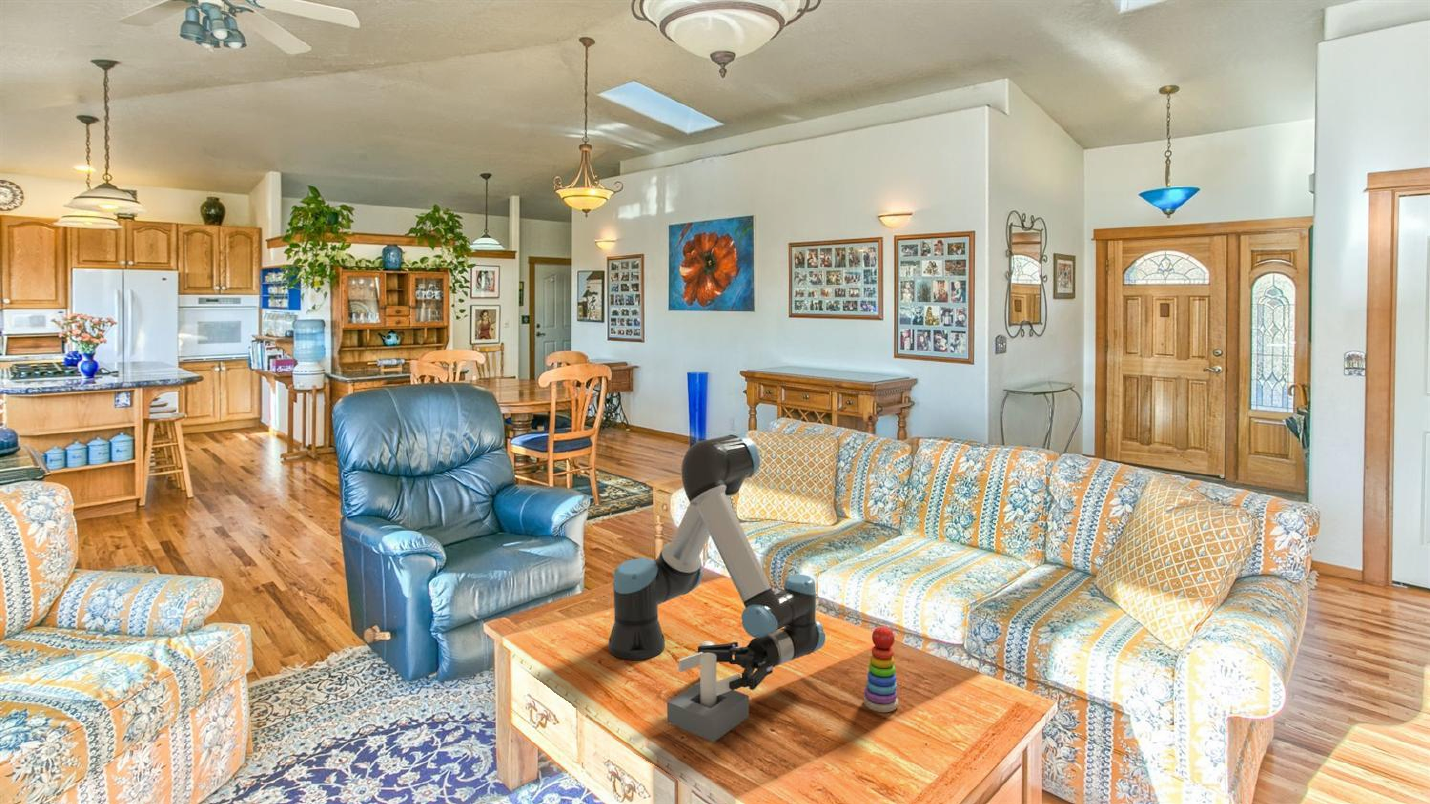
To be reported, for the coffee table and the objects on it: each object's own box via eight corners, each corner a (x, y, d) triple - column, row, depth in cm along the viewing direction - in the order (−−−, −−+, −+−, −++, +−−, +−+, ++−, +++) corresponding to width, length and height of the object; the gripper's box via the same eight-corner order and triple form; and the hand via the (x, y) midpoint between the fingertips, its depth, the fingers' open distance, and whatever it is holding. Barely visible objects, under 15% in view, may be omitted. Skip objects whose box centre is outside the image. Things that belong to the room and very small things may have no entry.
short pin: (697, 679, 195) (697, 644, 194) (706, 673, 198) (706, 639, 197) (709, 683, 193) (708, 648, 192) (717, 678, 196) (717, 643, 194)
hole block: (667, 722, 175) (667, 701, 174) (703, 699, 185) (703, 679, 185) (713, 742, 167) (713, 720, 167) (748, 716, 177) (748, 695, 177)
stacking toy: (899, 715, 177) (900, 636, 175) (863, 712, 179) (864, 634, 176) (898, 698, 185) (899, 622, 183) (863, 695, 187) (864, 619, 184)
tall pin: (697, 720, 176) (696, 657, 174) (707, 713, 179) (706, 651, 177) (710, 725, 174) (709, 661, 172) (719, 719, 177) (719, 655, 175)
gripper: (806, 686, 176) (732, 716, 164) (736, 647, 196) (665, 672, 183) (806, 654, 175) (732, 682, 163) (736, 618, 195) (665, 641, 182)
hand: (696, 677), depth 173 cm, fingers open, 13 cm apart
